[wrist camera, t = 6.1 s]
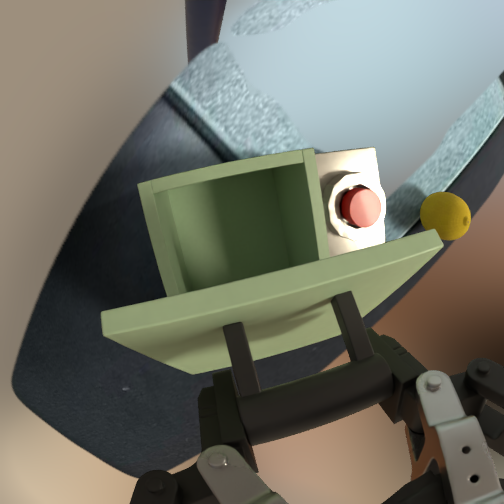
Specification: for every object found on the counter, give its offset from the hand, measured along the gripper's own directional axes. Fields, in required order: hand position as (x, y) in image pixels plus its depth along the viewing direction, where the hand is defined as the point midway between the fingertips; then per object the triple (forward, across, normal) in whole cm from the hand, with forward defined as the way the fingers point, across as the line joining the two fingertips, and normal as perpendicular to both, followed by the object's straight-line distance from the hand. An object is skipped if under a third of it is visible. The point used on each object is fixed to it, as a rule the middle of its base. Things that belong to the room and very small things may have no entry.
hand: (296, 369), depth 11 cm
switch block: (+20, -12, -2) cm, 23 cm away
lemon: (+20, -24, +1) cm, 31 cm away
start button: (+16, -12, -2) cm, 20 cm away
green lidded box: (+20, 0, -1) cm, 20 cm away
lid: (+4, 0, 0) cm, 4 cm away
